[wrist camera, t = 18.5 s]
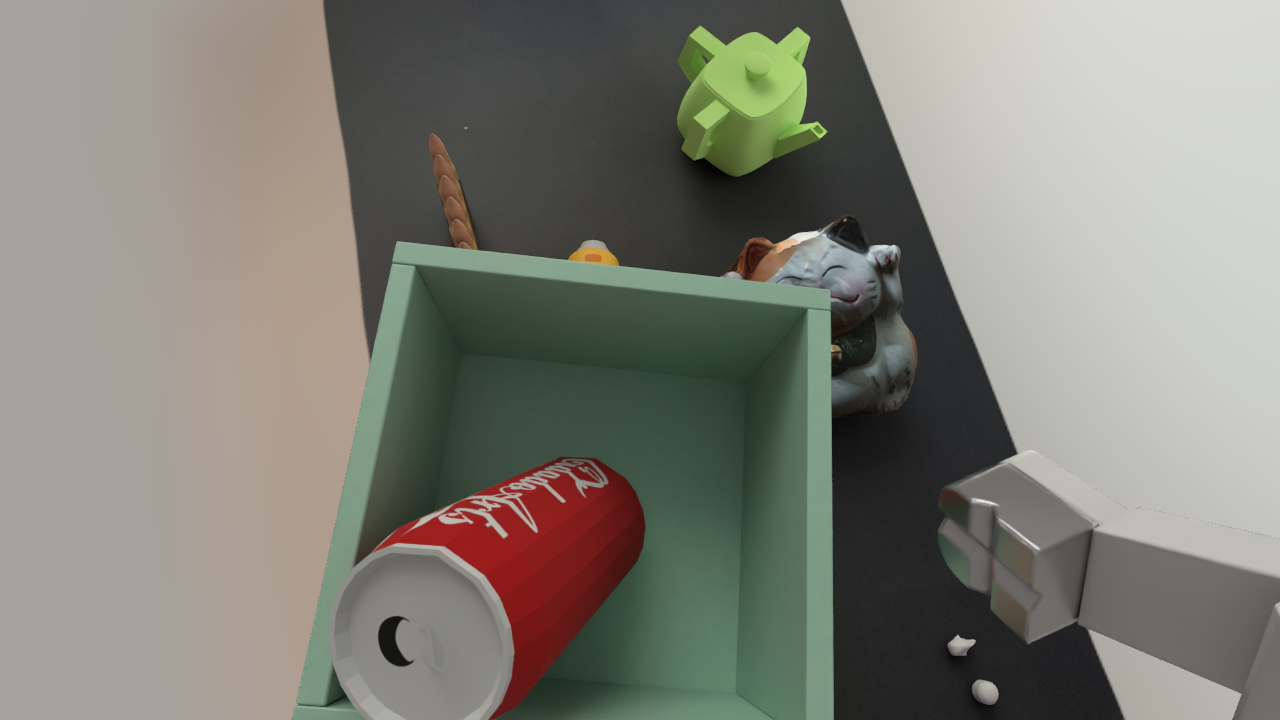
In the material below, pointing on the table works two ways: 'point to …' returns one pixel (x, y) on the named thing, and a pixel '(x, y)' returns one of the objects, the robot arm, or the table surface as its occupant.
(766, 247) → the lucky cat figurine
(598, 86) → the table surface
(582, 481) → the soda can
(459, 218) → the bullet clip
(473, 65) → the table surface
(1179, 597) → the robot arm
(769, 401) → the planter box
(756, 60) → the teapot
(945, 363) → the table surface
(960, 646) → the game pieces
